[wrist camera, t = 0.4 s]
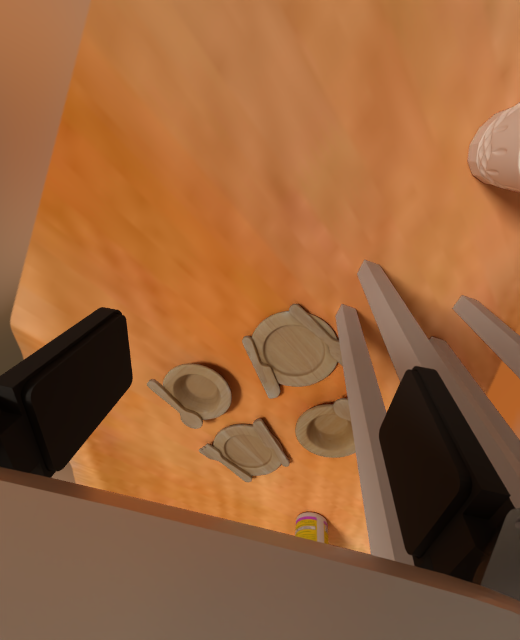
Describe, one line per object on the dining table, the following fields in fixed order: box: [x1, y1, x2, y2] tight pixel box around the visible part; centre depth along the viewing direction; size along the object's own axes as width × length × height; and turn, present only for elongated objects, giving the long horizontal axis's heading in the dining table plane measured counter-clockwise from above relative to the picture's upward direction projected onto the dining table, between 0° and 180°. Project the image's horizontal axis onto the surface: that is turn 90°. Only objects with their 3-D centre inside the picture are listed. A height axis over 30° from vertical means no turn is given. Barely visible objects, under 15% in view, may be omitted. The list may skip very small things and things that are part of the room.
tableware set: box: [147, 304, 356, 482], centre depth 49 cm, size 35×29×4 cm
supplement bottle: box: [295, 512, 328, 544], centre depth 58 cm, size 7×7×13 cm
